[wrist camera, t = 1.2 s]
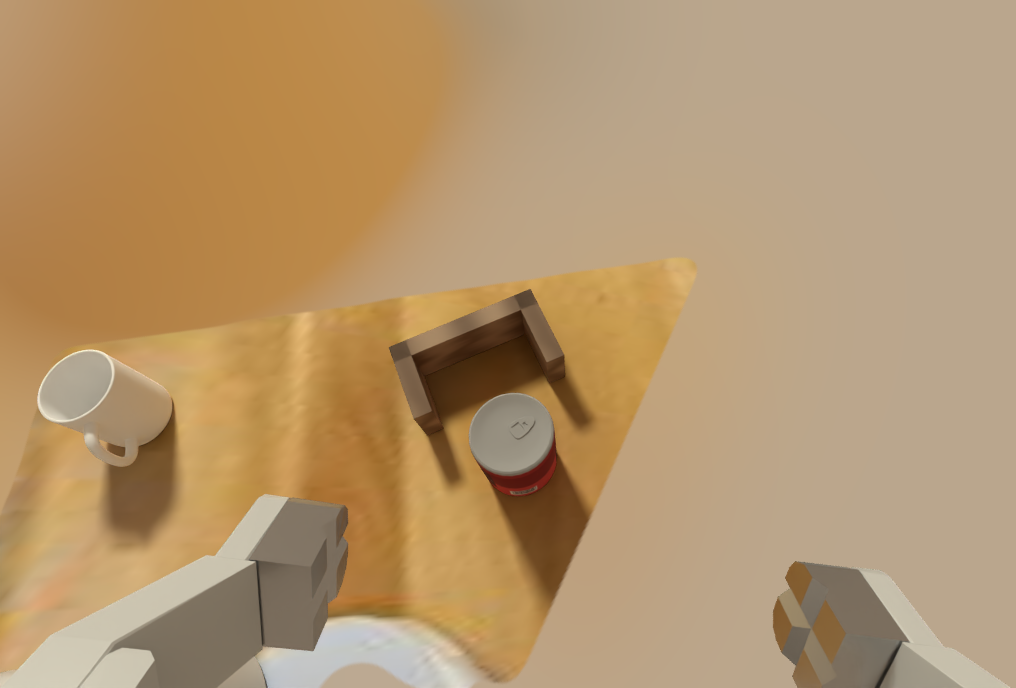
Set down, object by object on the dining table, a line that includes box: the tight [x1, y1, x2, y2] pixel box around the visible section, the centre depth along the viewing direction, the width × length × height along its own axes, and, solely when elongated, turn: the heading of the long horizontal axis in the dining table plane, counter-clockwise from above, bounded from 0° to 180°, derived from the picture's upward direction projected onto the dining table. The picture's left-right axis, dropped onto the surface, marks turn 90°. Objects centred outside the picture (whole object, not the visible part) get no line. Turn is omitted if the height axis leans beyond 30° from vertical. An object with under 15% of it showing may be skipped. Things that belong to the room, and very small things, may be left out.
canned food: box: [469, 393, 557, 496], centre depth 56 cm, size 8×8×11 cm
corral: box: [389, 289, 565, 435], centre depth 64 cm, size 17×9×6 cm, turn 112°
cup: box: [37, 350, 172, 467], centre depth 63 cm, size 8×12×10 cm
